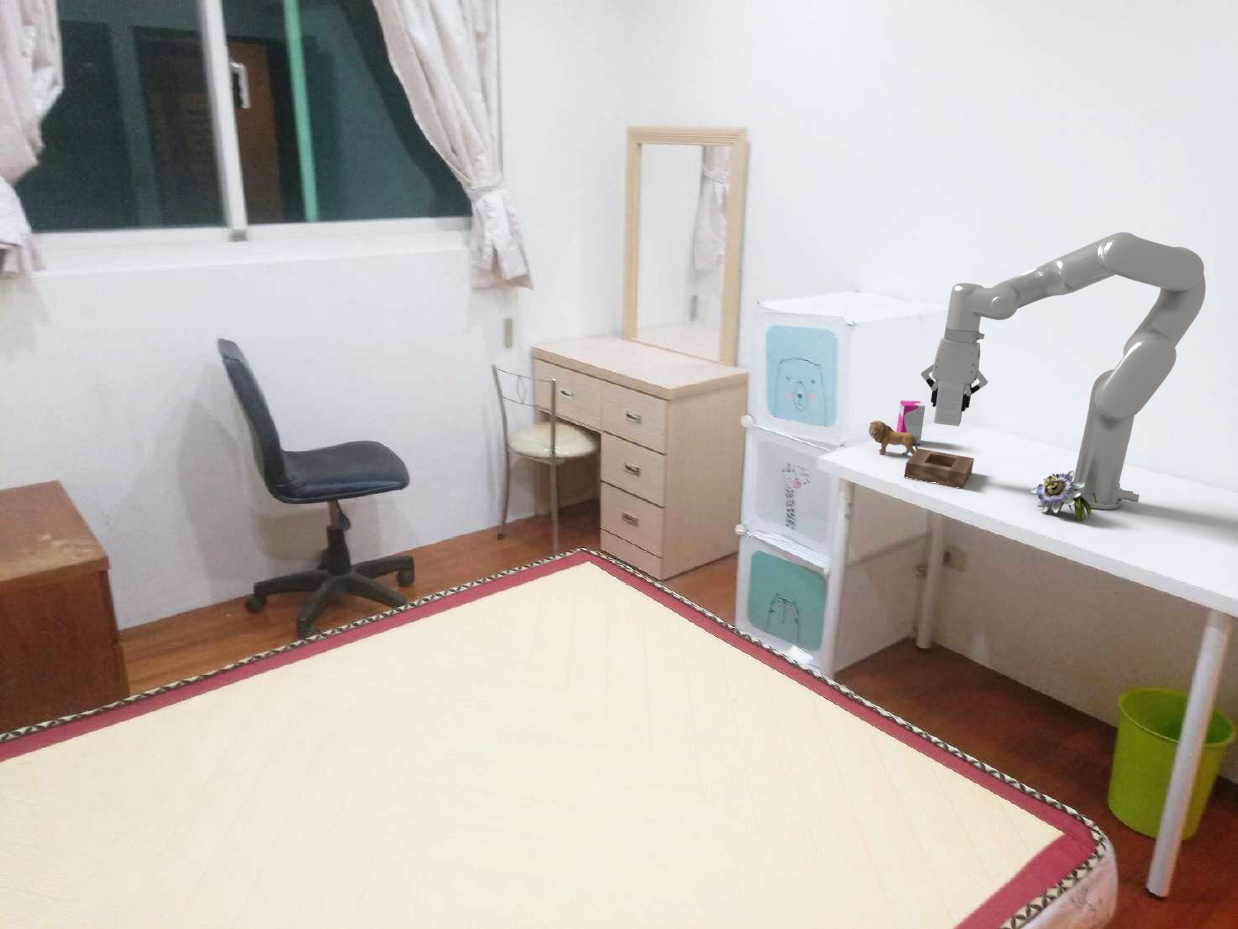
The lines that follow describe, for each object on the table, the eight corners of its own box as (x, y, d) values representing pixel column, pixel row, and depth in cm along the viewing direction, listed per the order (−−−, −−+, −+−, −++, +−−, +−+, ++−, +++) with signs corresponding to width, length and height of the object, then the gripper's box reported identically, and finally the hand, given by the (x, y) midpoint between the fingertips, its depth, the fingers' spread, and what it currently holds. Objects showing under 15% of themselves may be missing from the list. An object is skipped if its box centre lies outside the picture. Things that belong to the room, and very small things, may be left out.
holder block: (971, 473, 230) (974, 458, 229) (962, 488, 219) (965, 473, 217) (915, 462, 237) (917, 448, 235) (904, 477, 225) (906, 462, 224)
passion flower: (1041, 535, 207) (1018, 487, 209) (1072, 519, 212) (1049, 473, 213) (1080, 524, 197) (1055, 474, 199) (1112, 508, 201) (1087, 459, 203)
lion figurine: (865, 454, 242) (869, 422, 239) (866, 448, 247) (870, 417, 244) (922, 461, 238) (927, 429, 235) (922, 455, 243) (927, 423, 240)
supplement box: (915, 439, 257) (921, 400, 253) (920, 445, 251) (926, 406, 248) (895, 438, 257) (900, 399, 254) (899, 444, 252) (904, 404, 248)
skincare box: (960, 422, 224) (967, 375, 220) (958, 426, 220) (965, 379, 216) (935, 419, 226) (941, 372, 223) (933, 423, 223) (939, 376, 219)
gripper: (1001, 338, 215) (988, 410, 221) (927, 329, 223) (916, 399, 229) (996, 343, 209) (983, 417, 215) (920, 333, 217) (910, 405, 223)
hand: (949, 407), depth 222 cm, fingers closed on skincare box, 6 cm apart
